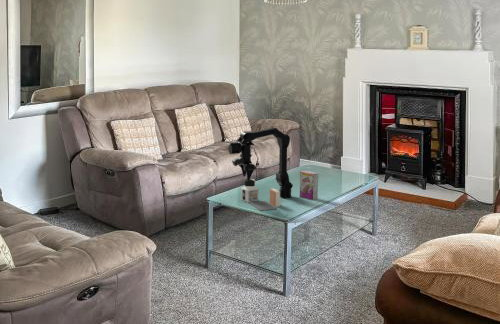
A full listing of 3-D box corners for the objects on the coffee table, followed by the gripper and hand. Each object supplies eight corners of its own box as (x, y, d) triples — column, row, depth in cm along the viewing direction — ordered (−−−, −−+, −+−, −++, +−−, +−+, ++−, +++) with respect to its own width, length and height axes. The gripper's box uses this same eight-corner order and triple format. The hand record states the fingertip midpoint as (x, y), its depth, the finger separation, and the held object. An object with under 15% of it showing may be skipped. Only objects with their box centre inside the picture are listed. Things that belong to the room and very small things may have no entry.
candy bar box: (299, 196, 369) (299, 171, 366) (304, 195, 373) (304, 170, 369) (312, 200, 361) (313, 174, 358) (317, 199, 365) (318, 173, 361)
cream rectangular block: (274, 202, 355) (274, 188, 354) (279, 206, 348) (279, 191, 346) (269, 203, 354) (269, 188, 353) (275, 206, 347) (275, 192, 345)
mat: (264, 201, 359) (264, 200, 358) (276, 209, 342) (276, 208, 342) (248, 203, 355) (248, 202, 355) (260, 210, 338) (260, 210, 338)
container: (248, 202, 356) (248, 181, 353) (241, 199, 362) (241, 179, 360) (258, 200, 361) (258, 179, 358) (251, 197, 367) (251, 177, 364)
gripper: (229, 150, 360) (229, 175, 363) (236, 156, 342) (237, 182, 346) (246, 149, 363) (246, 174, 366) (255, 155, 345) (255, 181, 349)
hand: (246, 178), depth 357 cm, fingers open, 9 cm apart
